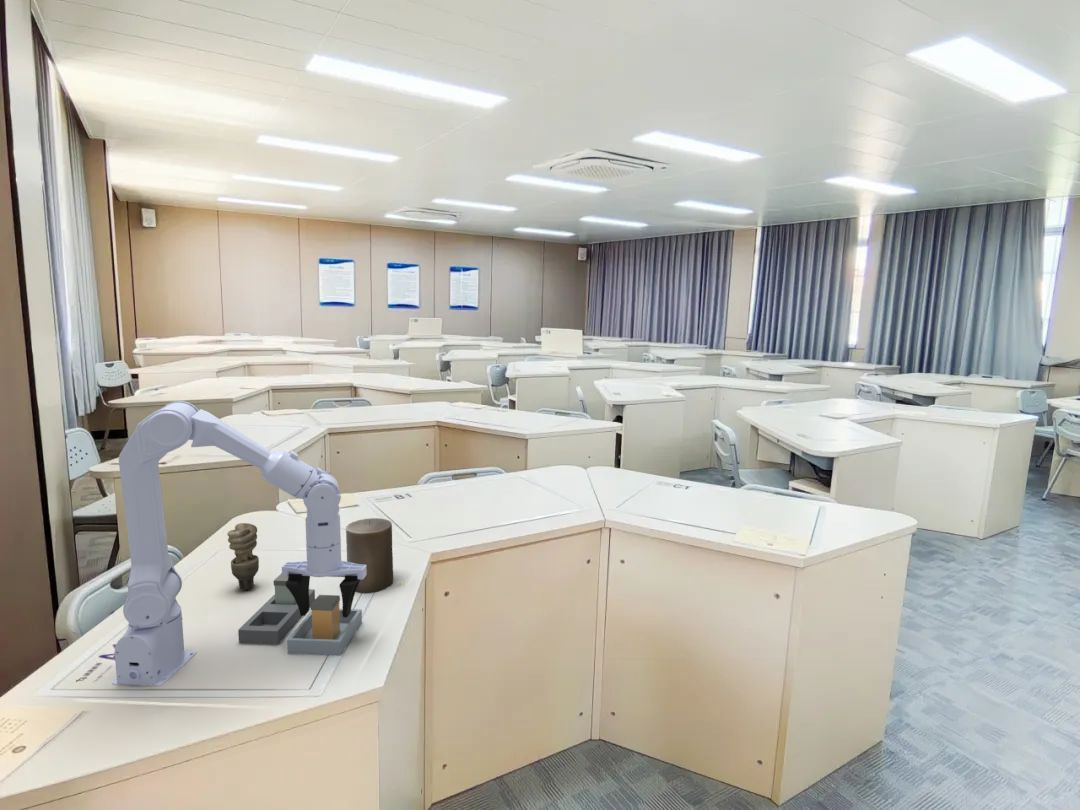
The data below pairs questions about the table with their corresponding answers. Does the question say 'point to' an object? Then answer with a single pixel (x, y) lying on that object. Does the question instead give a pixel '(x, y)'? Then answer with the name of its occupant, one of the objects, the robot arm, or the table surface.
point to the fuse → (283, 592)
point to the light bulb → (244, 554)
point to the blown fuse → (325, 617)
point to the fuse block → (271, 622)
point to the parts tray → (306, 644)
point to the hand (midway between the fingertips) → (325, 614)
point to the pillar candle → (371, 552)
